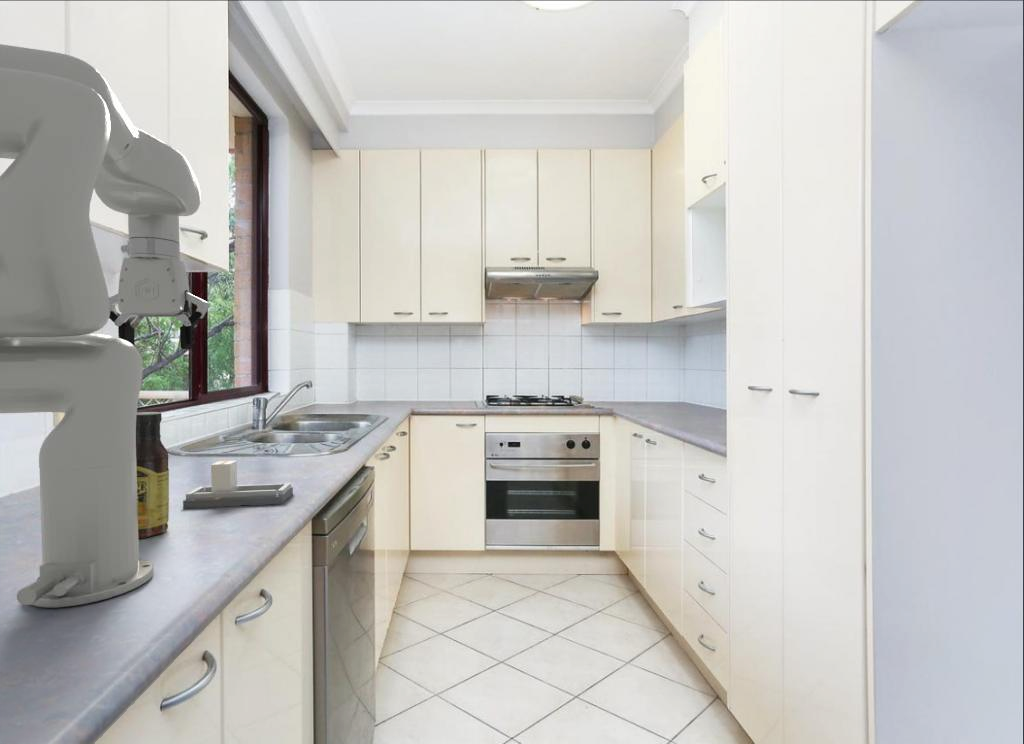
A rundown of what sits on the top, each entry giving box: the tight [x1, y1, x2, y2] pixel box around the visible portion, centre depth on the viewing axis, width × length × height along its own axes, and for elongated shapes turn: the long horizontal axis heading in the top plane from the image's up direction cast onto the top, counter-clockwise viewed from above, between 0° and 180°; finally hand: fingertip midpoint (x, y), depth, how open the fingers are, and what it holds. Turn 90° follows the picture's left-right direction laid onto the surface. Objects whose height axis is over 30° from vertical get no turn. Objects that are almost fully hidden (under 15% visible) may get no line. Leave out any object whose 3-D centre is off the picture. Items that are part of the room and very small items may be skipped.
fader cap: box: [210, 460, 238, 492], centre depth 107 cm, size 4×4×6 cm
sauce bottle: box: [136, 411, 170, 539], centre depth 87 cm, size 6×6×20 cm
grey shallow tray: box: [182, 482, 294, 509], centre depth 108 cm, size 8×18×2 cm, turn 98°
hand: (157, 349), depth 95 cm, fingers open, 9 cm apart
